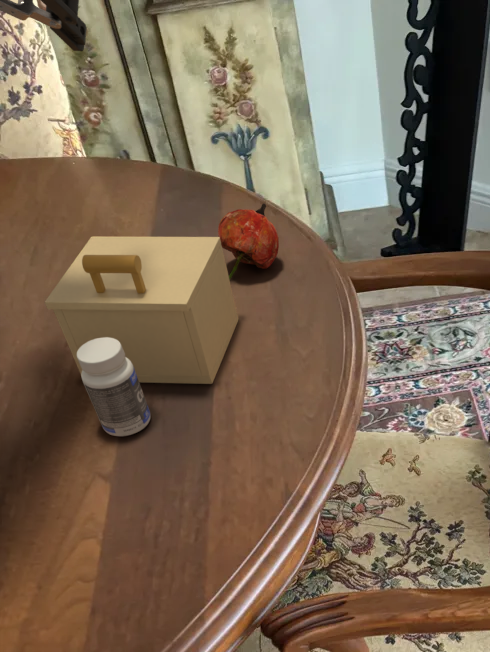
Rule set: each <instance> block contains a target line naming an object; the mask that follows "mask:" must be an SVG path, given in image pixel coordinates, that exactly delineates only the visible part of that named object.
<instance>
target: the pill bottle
mask: <svg viewBox="0 0 490 652" xmlns="http://www.w3.org/2000/svg"><path fill="white" fill-rule="evenodd" d="M77 358H78V361H79V363H80V366H81V368H82V374H80V376H81V380H82V381H81V382H82V383H83V386H84V388H85V391H86V392H87V394H88V397H89V400H90V401H91V404H92V406H93V408H94V411H95V413H96V416H97V419H98V420H99V422H100V424H101V427H102V429H103V431H105V432H106V434H108V435H111V436H114V437H128V436H132V435H134V434H136V433H138V432H141V431H142V430H144V429H145V428H146V427H147V426H148V425H149V423H150V421H151V411H150V408H149V404H148V403H147V400H146V397H145V394H144V391H143V389H142V386H141V382H139V380H138V378H137V375H136V372H135V369H134V366H133V364H132V362H131V361H130V360H129V359H128V358H126V357H125V353H124V350H123V348H122V346H121V344H120V342H119V341H118V340H116V339H114V338H109V337H104V338H97V339H93V340H91V341H88V342H87V343H85V344H83V345H82V346H81V347H80V348H79V349H78V351H77Z"/></svg>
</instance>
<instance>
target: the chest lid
mask: <svg viewBox="0 0 490 652" xmlns="http://www.w3.org/2000/svg"><path fill="white" fill-rule="evenodd" d="M220 246H221V240H220V237H219V236H103V235H102V236H100V235H99V236H97V235H95V236H91V237H90V238H89V239H88V240H87V242H86V243H85V245H84V246H83V248H82V249H81V251H80V252H79V254H78V255H77V256H76V257H75V259H74V260H73V262H72V263H71V264H70V266H69V267H68V268H67V270H66V272H65V273H64V274H63V276H62V277H61V278H60V280H59V281H58V282H57V284H56V285H55V287H54V288H53V289H52V291H51V292H50V294H49V295H48V297H46V300H45V301H44V304H45V308H47V310H53V309H62V310H136V311H189V309H190V307H191V305H192V303H193V301H194V299H195V297H196V295H197V292H198V290H199V288H200V286H201V284H202V282H203V280H204V278H205V276H206V274H207V272H208V270H209V268H210V266H211V264H212V262H213V260H214V258H215V256H216V254H217V252H218V250H219V248H220Z"/></svg>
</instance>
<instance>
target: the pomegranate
mask: <svg viewBox="0 0 490 652" xmlns="http://www.w3.org/2000/svg"><path fill="white" fill-rule="evenodd" d="M266 208H267V204H266V203H265V202H263V203H262V204H261V206H260V207H259V208H258V209H257V210H254V209H245V208H244V209H241V208H239V209H235V210H233V211H229V212H227V213H226V214H225V215H224V216H223V217H222V218H221V219H220V221H219V223H218V226H217V227H218V229H217V237H220V240H221V245H222V249H224V250H226V251H228V252H230V253H232V255H233V257H234V258H235V259H236V261H235V263H234V266H233V267H232V269H231V272H230V273H229V274H228V276H229V280H231V279H232V278H233V275H234V273H236V271H237V270H238V266H239V263H240V262H241V263H243V264H248V265H255V266H256V267H257V268H258V269H262V270H267V269H268V268H270V267H271V265H273V263H274V261H275V260H276V258H277V257H278V254H279V248H280V243H279V240H280V239H279V235H278V231H277V229H276V227H275V226H274V224H273V223H272V222H271V221H270V220H269V219H268V217H267V216H266V215H265V211H266Z"/></svg>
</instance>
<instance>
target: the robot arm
mask: <svg viewBox="0 0 490 652" xmlns="http://www.w3.org/2000/svg"><path fill="white" fill-rule="evenodd" d="M40 2H42V3H43V4H44V5H45V9H43V8H41V7H38V6H36V4H35V3H34V0H17V2H15V1H12V0H0V12H2V13H4V14H7V15H9V16H11V17H13V18H14V19H18V20H19V21H23V22H24V21H26V20H28V18H29V19H32V20H34V21H37V22H39V23H41V24H43V25H45V26H47V27H49V29H50V30H51V31H52V32H53V33H54V34H55V35H56V36H58V38H60V40H61V41H62V42H64V44H66V46H68V47H69V48H70V49H71V50H72V51H73V52H83V51H84V49H85V46H86V40H87V29H88V28H87V27H88V26H87V24H86V23H85V22H84V21H83V20H82V18H80V17H79V16H78V15H79V14H78V13H79V4H80V3H79V2H80V0H40Z"/></svg>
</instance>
